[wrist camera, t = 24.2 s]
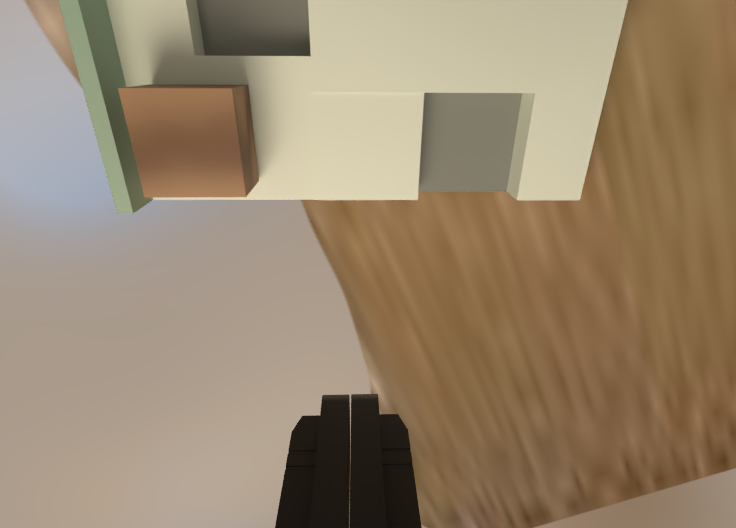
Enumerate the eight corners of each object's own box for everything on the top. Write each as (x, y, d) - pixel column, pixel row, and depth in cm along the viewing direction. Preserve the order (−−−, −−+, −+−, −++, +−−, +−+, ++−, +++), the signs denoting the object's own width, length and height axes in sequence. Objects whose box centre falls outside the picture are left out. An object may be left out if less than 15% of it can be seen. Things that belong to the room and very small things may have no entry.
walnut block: (151, 84, 25) (117, 88, 22) (249, 84, 26) (231, 88, 22) (171, 179, 28) (144, 197, 25) (260, 179, 28) (246, 197, 25)
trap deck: (88, -82, 24) (26, -116, 19) (622, -75, 24) (682, -105, 20) (152, 190, 31) (117, 213, 26) (563, 190, 31) (598, 211, 27)
